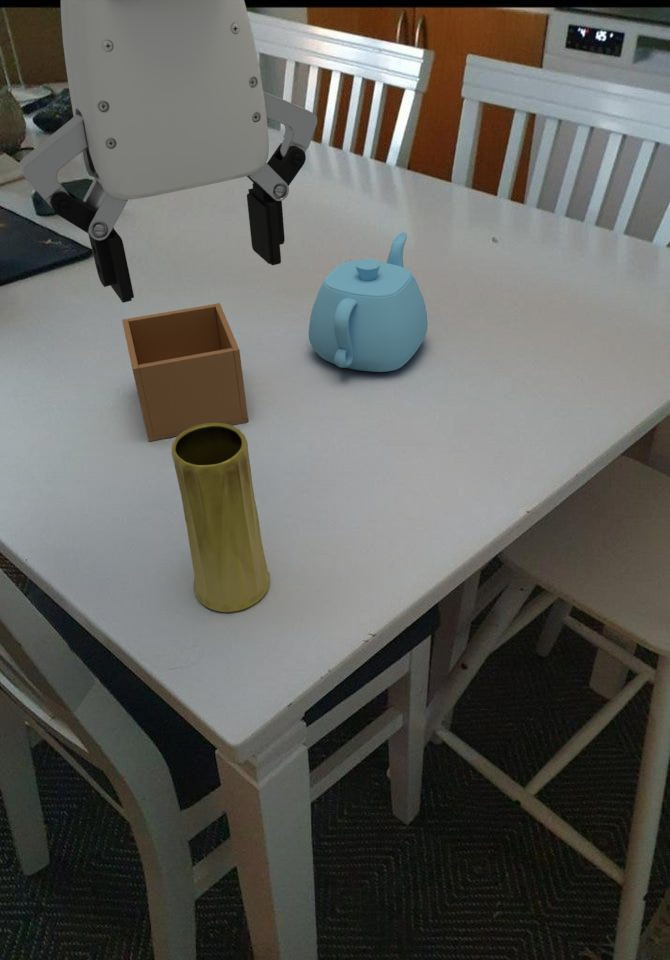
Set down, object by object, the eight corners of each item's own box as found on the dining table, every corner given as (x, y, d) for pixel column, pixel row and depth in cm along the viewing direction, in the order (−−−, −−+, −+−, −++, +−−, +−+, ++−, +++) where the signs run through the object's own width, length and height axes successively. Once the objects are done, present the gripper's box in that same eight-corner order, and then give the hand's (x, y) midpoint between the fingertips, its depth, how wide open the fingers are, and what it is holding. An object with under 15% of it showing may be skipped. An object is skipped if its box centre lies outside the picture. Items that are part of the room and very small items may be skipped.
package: (148, 441, 81) (132, 368, 75) (137, 389, 88) (121, 319, 83) (248, 421, 83) (239, 349, 77) (229, 372, 90) (219, 302, 85)
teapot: (455, 235, 91) (394, 305, 79) (450, 320, 98) (393, 397, 85) (353, 220, 95) (280, 283, 83) (355, 302, 102) (288, 372, 90)
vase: (241, 624, 62) (218, 481, 53) (178, 596, 65) (146, 454, 55) (284, 573, 66) (269, 432, 57) (223, 548, 69) (200, 410, 60)
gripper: (275, -69, 46) (294, 226, 56) (-46, -39, 40) (45, 284, 51) (337, -57, 40) (345, 265, 51) (-21, -20, 34) (74, 335, 45)
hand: (196, 274), depth 51 cm, fingers open, 9 cm apart
